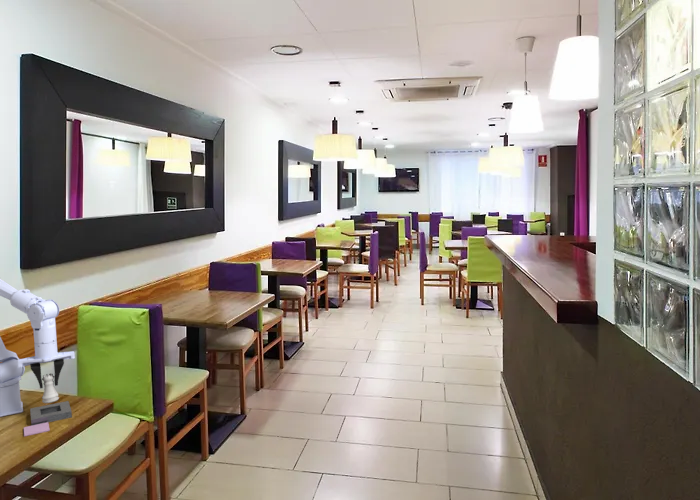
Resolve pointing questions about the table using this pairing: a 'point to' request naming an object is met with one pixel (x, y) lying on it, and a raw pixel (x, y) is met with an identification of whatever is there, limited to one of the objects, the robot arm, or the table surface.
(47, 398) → the rook chess piece
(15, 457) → the table surface
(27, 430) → the mat
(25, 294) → the robot arm
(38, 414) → the socket block
